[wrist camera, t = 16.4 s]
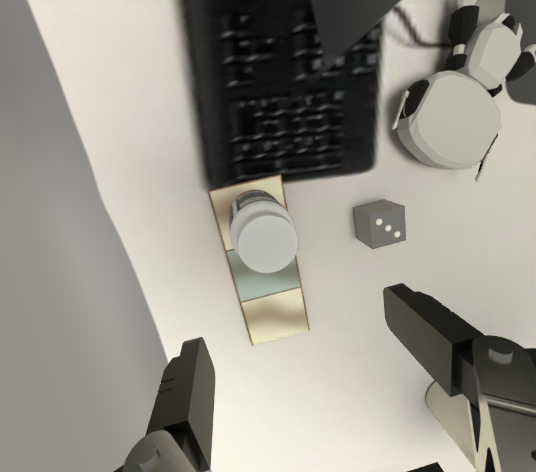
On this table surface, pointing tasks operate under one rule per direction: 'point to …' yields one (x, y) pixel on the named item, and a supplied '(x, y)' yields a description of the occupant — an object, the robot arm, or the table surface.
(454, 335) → the robot arm
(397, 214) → the die
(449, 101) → the robot toy
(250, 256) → the pill bottle
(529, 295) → the table surface
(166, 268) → the table surface
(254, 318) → the board
